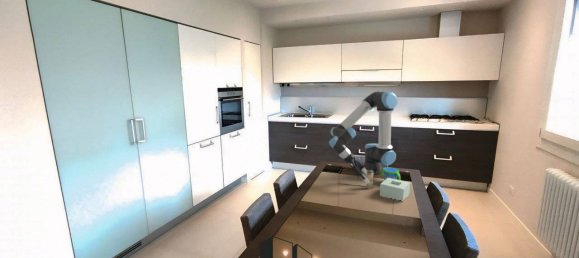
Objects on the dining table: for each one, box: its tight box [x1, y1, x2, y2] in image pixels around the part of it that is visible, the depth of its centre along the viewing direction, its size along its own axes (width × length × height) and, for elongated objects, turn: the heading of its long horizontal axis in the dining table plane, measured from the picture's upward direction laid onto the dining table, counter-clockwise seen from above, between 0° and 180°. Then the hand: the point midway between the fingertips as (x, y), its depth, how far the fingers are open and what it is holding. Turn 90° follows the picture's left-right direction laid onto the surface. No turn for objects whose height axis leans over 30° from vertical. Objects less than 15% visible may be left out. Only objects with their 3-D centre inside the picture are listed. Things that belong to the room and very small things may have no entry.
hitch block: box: [379, 178, 411, 202], centre depth 164 cm, size 14×14×8 cm
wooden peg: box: [365, 170, 374, 190], centre depth 175 cm, size 4×4×12 cm
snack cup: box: [380, 166, 402, 181], centre depth 184 cm, size 16×10×10 cm
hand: (368, 179), depth 175 cm, fingers open, 13 cm apart
